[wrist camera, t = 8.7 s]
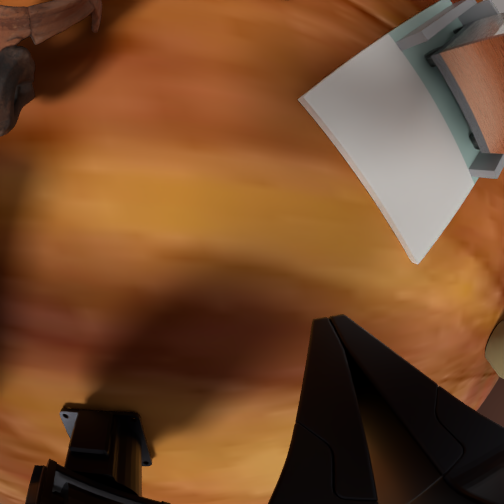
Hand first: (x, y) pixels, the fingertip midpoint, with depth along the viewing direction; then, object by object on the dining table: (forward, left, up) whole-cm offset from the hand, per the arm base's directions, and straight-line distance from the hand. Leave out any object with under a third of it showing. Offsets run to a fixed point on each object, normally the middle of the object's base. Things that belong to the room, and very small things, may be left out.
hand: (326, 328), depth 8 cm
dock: (+12, -17, -11) cm, 24 cm away
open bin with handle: (+15, -20, -10) cm, 27 cm away
